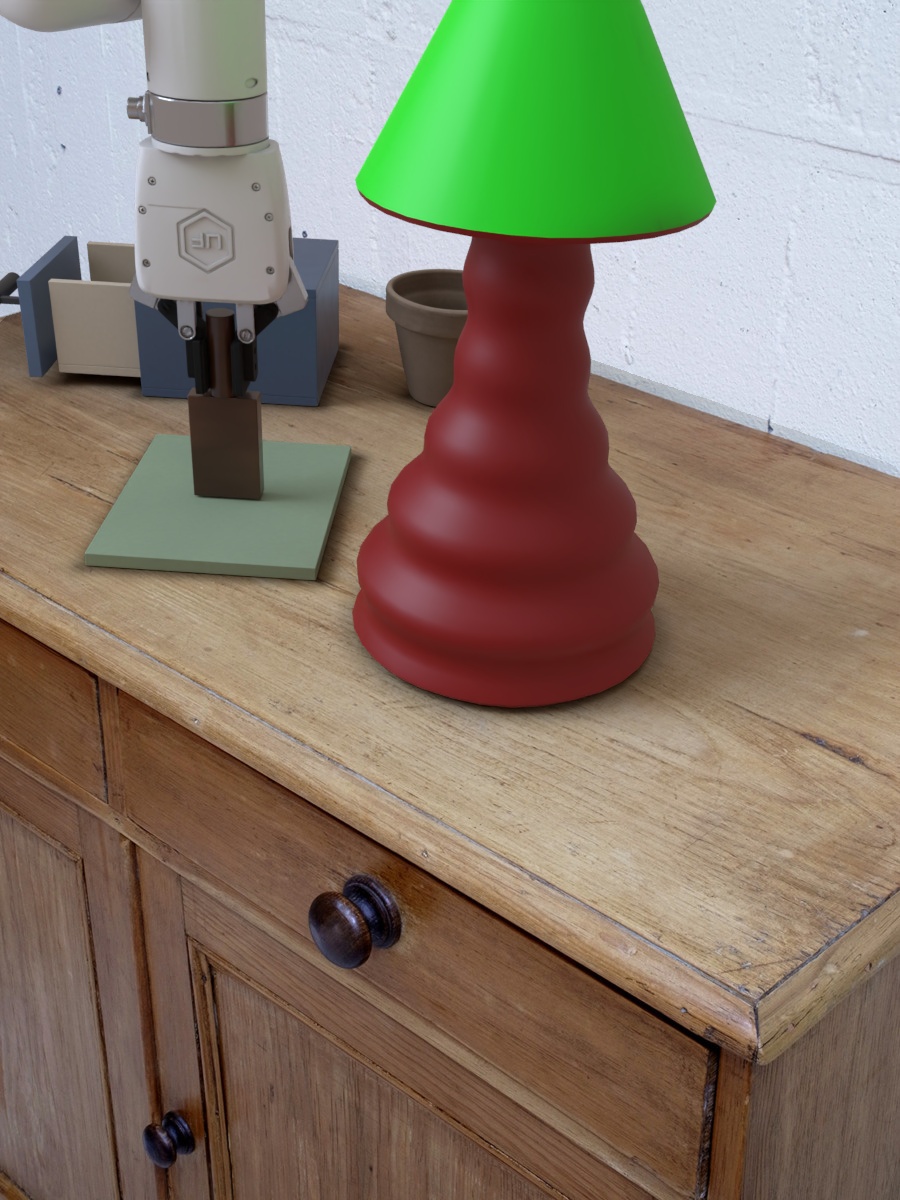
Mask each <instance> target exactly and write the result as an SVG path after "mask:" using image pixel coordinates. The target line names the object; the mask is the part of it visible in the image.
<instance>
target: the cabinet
mask: <svg viewBox="0 0 900 1200" xmlns="http://www.w3.org/2000/svg"><path fill="white" fill-rule="evenodd" d="M339 248H340V241H339V240H338V239H324V238H311V237H310V238H307V237H293V250H294V264H295V267H296V269H297V271H298V273H299V276H300V278H301V280H302V282H303V285H304V287H305V289H306V292H307V294H308V297H309V298H308V301H307V304H306V306H305V307H304V308H303V309H301V310H299V311H296V312H293V313H290V314H288V315H285V316H280V317H278V318H275V319H274V320H273V321H272V322H271V323H270V324H269V325H268V326H267V327H266V328H265V329H264V330H263V331H262V332H261V333H260V334H259V335H257V358H258V376H257V379H256V381H255V382H250V385H249V387H248V389H247V391H260V392H261V404H269V405H284V406H285V405H286V406H300V407H301V406H302V407H318V406H319V404H320V400H321V398H322V395H323V392H324V389H325V387H326V384H327V382H328V379H329V376H330V373H331V370H332V367H333V365H334V362H335V360H336V357H337V354H338V352H339V348H340V257H339V256H340V249H339ZM132 280H133V279H132ZM203 305H204V321H205V322H206V316H205V313H206V311H208V310H210V309H214V308H226V309H230V310H233V311H234V313H235V331H236V330H237V317H236V303H219V302H203ZM134 306H135V317H136V329H137V340H138V352H139V363H140V375H141V377H140V384H141V385H140V387H141V395H142V396H143V397H154V398H155V397H156V398H158V397H159V398H172V399H173V398H174V399H188V394H189V392H190V391H191V389H192V388H193V387H194V388H195V378H189V377H188V373H187V358H186V343H185V339H183V338H182V337H181V336H180V335H179V332H178V329H177V328H176V327H175V326H174V325H173V324H172V323H171V322H170V321H168V320H167V319H166V318H165V317H164V316H163V315H162V314H161V313H160V312H159V310H157V309H155V308H154V309H153V308H151V307H149V306H147V305H144V304H142V303H140V302H138V301H136V300H134Z"/></svg>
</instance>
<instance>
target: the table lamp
mask: <svg viewBox="0 0 900 1200" xmlns="http://www.w3.org/2000/svg"><path fill="white" fill-rule="evenodd" d="M660 49H661V48H660V47H659V44H658V42H657V38H656V36H655V34H654V30H653V29H652V26H651V22H650V20H649V17H648V15H647V12H646V9H645V7H644V5H643V2H642V0H451V1H450V3H449V5H448V6H447V8H446V10H445V13H444V14H443V16H442V18H441V20H440V22H439V23H438V25H437V27H436V29H435V31H434V33H433V35H432V37H431V38H430V40H429V42H428V44H427V46H426V47H425V50H424V51H423V53H422V55H421V57H420V59H419V61H418V62H417V65H416V66H415V68H414V70H413V72H412V73H411V75H410V77H409V79H408V80H407V82H406V84H405V87H404V88H403V90H402V92H401V94H400V95H399V97H398V99H397V101H396V103H395V105H394V107H393V108H392V110H391V112H390V114H389V116H388V118H387V119H386V122H385V123H384V125H383V127H382V129H381V131H380V132H379V134H378V136H377V137H376V140H375V142H374V144H373V145H372V148H371V149H370V151H369V153H368V154H367V157H366V159H365V160H364V162H363V164H362V166H361V168H360V169H359V171H358V173H357V175H356V176H355V179H354V181H355V185H356V190H357V191H358V194H359V195H360V197H361V198H362V199H363V200H364V201H365V202H366V203H367V204H368V205H370V206H371V207H373V208H375V209H376V210H378V211H380V212H382V213H383V214H385V215H386V216H390V217H393V218H395V219H398V220H400V221H403V222H406V223H409V224H412V225H416V226H419V227H424V228H428V229H432V230H435V231H438V232H444V233H450V234H455V235H460V236H466V237H471V241H470V244H469V247H468V250H467V253H466V257H465V260H464V264H463V268H462V270H463V274H462V278H463V287H464V292H465V296H466V301H467V306H468V317H467V321H466V323H465V326H464V328H463V330H462V333H461V335H460V337H459V339H458V342H457V345H456V349H455V353H454V382H453V386H452V387H451V389H450V391H449V392H448V393H447V395H446V396H445V397H444V398H443V399H442V400H441V402H440V403H439V404H438V405H437V407H434V409H433V410H432V412H431V414H430V416H429V417H428V419H427V423H426V427H425V431H424V435H423V449H422V451H421V452H420V453H419V454H418V455H417V456H415V457H414V458H413V459H412V460H411V461H409V462H408V463H407V464H405V466H404V467H402V469H401V470H400V472H399V473H398V474H397V475H396V477H395V478H394V480H393V481H392V483H391V484H390V488H389V491H388V496H387V501H386V507H387V515H386V516H385V517H383V518H382V519H381V520H380V521H378V522H377V523H376V524H375V525H373V527H372V528H371V530H370V531H369V533H368V534H367V536H365V539H364V540H363V541H362V543H361V544H360V547H359V549H358V553H357V557H356V572H357V582H358V585H359V587H360V590H359V591H358V593H357V595H356V598H355V601H354V604H353V608H352V611H351V612H352V613H351V615H352V623H353V629H354V631H355V633H356V635H357V637H358V639H359V641H360V643H361V645H362V646H363V647H364V648H365V650H366V651H367V652H368V653H369V654H370V656H371V657H372V658H373V659H374V661H376V662H377V663H378V664H380V665H381V666H382V667H383V668H384V669H386V670H387V671H388V672H390V673H391V674H392V675H394V676H395V677H396V678H397V679H400V680H402V681H404V682H405V683H408V684H410V685H412V686H414V687H416V688H419V689H421V690H423V691H427V692H430V693H433V694H436V695H438V696H442V697H446V698H448V699H453V700H458V701H462V702H467V703H472V704H475V705H480V706H491V707H499V708H500V707H501V708H510V709H511V708H512V709H516V708H531V707H545V706H551V705H557V704H561V703H567V702H572V701H576V700H579V699H584V698H586V697H589V696H594V695H597V694H600V693H602V692H604V691H607V690H608V689H611V688H613V687H614V686H615V687H616V686H617V685H619V684H621V683H622V682H624V681H625V680H626V679H628V677H630V676H631V675H632V674H633V673H635V672H636V671H637V670H638V669H640V667H642V665H644V663H645V661H646V659H647V658H648V656H649V655H650V653H651V652H652V649H653V646H654V642H655V639H656V622H655V617H654V614H653V612H652V608H653V607H654V605H655V601H656V599H657V593H658V591H659V586H660V577H659V568H658V566H657V563H656V561H655V560H654V558H653V555H652V554H651V551H650V549H649V548H648V545H647V544H646V543H645V542H644V541H643V540H642V538H641V537H639V535H638V534H637V533H636V532H635V530H636V526H637V523H638V513H637V512H638V511H637V502H636V500H635V498H634V497H633V494H632V492H631V490H630V488H629V486H628V485H627V483H626V482H625V480H624V479H623V478H622V477H621V476H620V475H619V474H618V473H617V472H616V471H615V469H613V468H612V467H611V465H610V463H609V455H610V440H609V439H610V438H609V431H608V429H607V426H606V423H605V421H604V420H603V418H602V416H601V415H600V413H599V411H598V409H597V408H596V407H595V405H594V404H593V402H592V400H591V398H590V395H589V384H590V379H591V377H590V376H591V370H592V357H591V351H590V347H589V343H588V338H587V335H586V332H585V326H584V321H585V316H586V311H587V309H588V307H589V304H590V301H591V299H592V296H593V293H594V288H595V284H596V283H595V281H596V279H595V278H596V277H595V267H594V259H593V256H592V249H591V246H592V245H597V244H613V243H614V244H615V243H616V244H617V243H626V242H627V243H628V242H634V241H642V240H649V239H650V240H651V239H656V238H660V237H665V236H669V235H672V234H678V233H680V232H683V231H685V230H688V229H691V228H693V227H696V226H698V225H700V223H702V222H703V221H705V220H706V219H707V218H709V217H710V215H711V214H712V212H713V211H714V209H715V206H716V205H717V199H716V195H715V193H714V191H713V188H712V184H711V182H710V179H709V177H708V175H707V172H706V169H705V166H704V164H703V161H702V159H701V156H700V153H699V151H698V148H697V145H696V142H695V139H694V137H693V135H692V132H691V129H690V126H689V124H688V121H687V119H686V116H685V113H684V110H683V108H682V105H681V102H680V100H679V97H678V94H677V91H676V90H675V87H674V84H673V81H672V79H671V76H670V73H669V71H668V68H667V65H666V62H665V59H664V57H663V55H662V52H661V50H660Z"/></svg>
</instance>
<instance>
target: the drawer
mask: <svg viewBox="0 0 900 1200" xmlns="http://www.w3.org/2000/svg"><path fill="white" fill-rule="evenodd" d="M86 249H87V251H86V252H87V259H88V260H87V261H88V269H89V278H90V279H89V280H83V278H82V269H81V261H80V251H79V241H78V236H76V235H64V236H62V238H61V239H59V240H58V241H57V242H56V243H55V244H54V245H53V246H52V247H50V249H48V250H47V251H46V252H45V253H44V254H43V255H42V256H40V258H39V259H37V260H36V261H35V262H34V263H33V264H32V265H31V266H30V267H29V268H28V269H27V270H25V271H24V272H23V274H21V275H19V274H18V273H16V272H14V271H10V272H8V273H6V275H4V276H3V277H2V278H1V279H0V305H18V306H19V309H20V317H21V324H22V331H23V339H24V346H25V347H24V348H25V354H26V362H27V369H28V376H29V378H43V377H44V376H45V375H46V374H47V373H48V371H49V370H50V369H51V368H52V367H53V366H54V365H55V364H56V363H57V365H58V372H59V373H65V374H66V373H67V374H80V375H81V374H83V375H99V376H113V377H115V376H116V377H117V376H118V377H132V378H141V375H140V363H139V352H138V340H137V329H136V317H135V306H134V299H132V298H131V297H130V296H129V289H130V286H131V283H132V279H133V277H134V274H135V272H136V266H135V243H128V242H127V243H124V242H110V241H109V242H107V241H91V240H90V241H88V242H87V243H86ZM16 290H17V294H18V295H17V296H16V295H12V294H13V293H14V292H15V291H16Z"/></svg>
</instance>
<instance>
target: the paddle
mask: <svg viewBox="0 0 900 1200" xmlns="http://www.w3.org/2000/svg"><path fill="white" fill-rule="evenodd" d="M205 316H206V333H207V349H208V366H209V383H210V388H209V390H208V392H207V393H205V394H204V395H203V394H196V389H195V388H194V387H193V388H192V389H191V391H190V392H189V394H188V398H187V409H188V410H187V411H188V423H189V424H188V425H189V436H190V440H191V454H192V469H193V484H194V495H199V496H215V497H231V498H247V499H261V497H262V494H263V492H264V469H263V443H262V440H263V422H262V421H263V419H262V417H263V416H262V403H261V392H260V391H246V393H245V395H244V397H237V396H236V395H235V394H233V387H232V367H231V343H232V341H233V340H234V339H235V313H234V311H233V310H230V309H226V308H214V309H210V310H208V311H206V313H205Z"/></svg>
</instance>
